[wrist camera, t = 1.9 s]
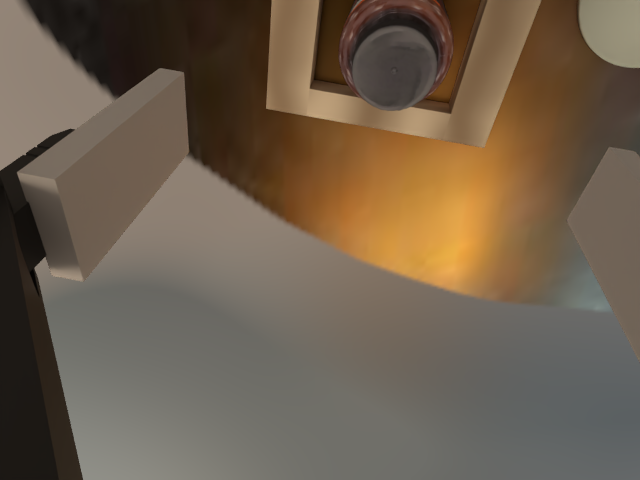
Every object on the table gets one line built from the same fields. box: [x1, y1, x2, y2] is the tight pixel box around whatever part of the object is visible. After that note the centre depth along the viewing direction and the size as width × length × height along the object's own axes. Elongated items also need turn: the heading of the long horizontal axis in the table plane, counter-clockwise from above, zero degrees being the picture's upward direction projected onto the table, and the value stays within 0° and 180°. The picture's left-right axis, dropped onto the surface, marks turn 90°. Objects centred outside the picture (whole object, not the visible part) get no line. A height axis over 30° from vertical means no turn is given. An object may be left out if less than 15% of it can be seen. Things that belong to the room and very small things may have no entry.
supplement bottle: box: [338, 0, 454, 111], centre depth 25 cm, size 6×6×11 cm
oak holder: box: [266, 0, 541, 148], centre depth 29 cm, size 16×14×2 cm
